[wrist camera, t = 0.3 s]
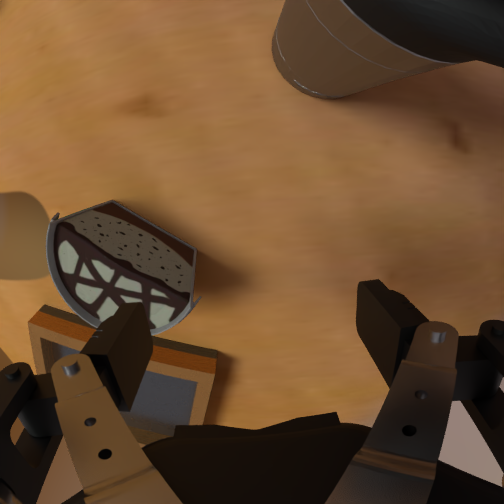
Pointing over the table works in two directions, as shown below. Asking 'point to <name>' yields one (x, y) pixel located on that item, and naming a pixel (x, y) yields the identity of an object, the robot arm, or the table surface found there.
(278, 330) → the table surface
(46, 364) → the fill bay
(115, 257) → the food container
